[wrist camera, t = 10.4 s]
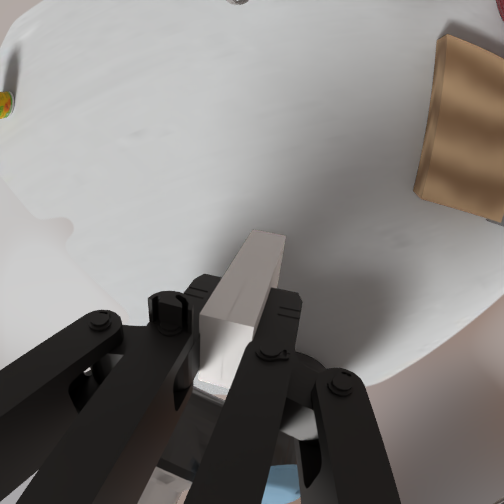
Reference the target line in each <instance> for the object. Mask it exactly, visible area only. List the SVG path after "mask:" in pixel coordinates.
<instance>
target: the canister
mask: <svg viewBox="0 0 504 504" xmlns="http://www.w3.org/2000/svg"><path fill="white" fill-rule="evenodd" d="M496 3H497V7H498V10H499V13H500V15H501V17H502V19H503V21H504V0H496Z"/></svg>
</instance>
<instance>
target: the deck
mask: <svg viewBox="0 0 504 504" xmlns="http://www.w3.org/2000/svg"><path fill="white" fill-rule="evenodd" d="M413 191H414V192H415V193H416V194H417V195H418V196H419V197H420V198H421V199H423V200H426V201H430V202H434V203H437V204H441V205H444V206H448V207H451V208H455V209H458V210H462V211H465V212H468V213H472V214H475V215H478V216H481V217H484V218H487V219H491V220H494V221H497V222H500V223H501V221H502V218H503V215H504V59H503V58H501V57H499V56H497V55H495V54H493V53H491V52H489V51H487V50H485V49H483V48H480V47H478V46H476V45H474V44H471V43H469V42H466V41H464V40H462V39H459V38H457V37H454V36H451V35H449V34H447V35H445V36H443V37H442V38H440V39H438V40H437V44H436V56H435V67H434V77H433V85H432V93H431V100H430V107H429V114H428V120H427V126H426V132H425V137H424V143H423V148H422V153H421V158H420V163H419V167H418V172H417V176H416V181H415V185H414V189H413Z"/></svg>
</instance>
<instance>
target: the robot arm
mask: <svg viewBox="0 0 504 504" xmlns="http://www.w3.org/2000/svg"><path fill="white" fill-rule="evenodd" d="M285 240H286V236H285V235H280V234H275V233H270V232H264V231H259V230H254V229H253V230H252V231H251V233H250V234H249V236H248V238H247V239H246V241H245V242H244V244H243V246H242V247H241V249H240V250H239V252H238V253H237V255H236V257H235V258H234V260H233V261H232V263H231V264H230V266H229V268H228V269H227V271H226V272H225V274H224V276H223V277H222V278H221V277H217V276H212V275H208V274H203V275H201V276H199V277H197V278H196V279H194V280H193V282H192V283H191V284H190V285H189V287H188V288H187V289H186V291H185V292H184V294H183V293H180V292H176V291H161V292H158V293H155V294H153V295H152V296H150V297H149V298H148V308H149V320H150V322H149V323H148V324H147V326H129V325H122V321H121V318H120V316H118V315H117V314H116V313H115V312H112V311H109V310H97V311H93V312H90V313H88V314H86V315H84V316H83V317H81V318H80V319H78V320H76V321H75V322H73V323H72V324H70V325H69V326H67V327H66V328H64V329H62V330H61V331H59V332H58V333H56V334H55V335H53V336H52V337H50V338H48V339H47V340H45V341H44V342H43V343H41V344H39V345H38V346H36V347H35V348H34V349H32V350H30V351H29V352H27V353H26V354H24V355H23V356H21V357H20V358H18V359H17V360H15V361H14V362H12V363H11V364H9V365H8V366H6V367H5V368H3V369H2V370H0V501H2V500H3V499H4V498H5V497H6V496H8V495H9V494H10V493H11V492H12V491H13V490H15V489H16V488H17V487H18V486H19V485H21V484H22V483H23V482H24V481H26V480H27V479H28V478H29V477H30V476H32V475H33V474H34V473H35V472H36V471H37V470H38V472H37V473H36V474H35V476H34V477H33V479H32V480H31V482H30V483H29V485H28V486H27V488H26V489H25V491H24V492H23V494H22V495H21V496H20V498H19V499H18V501H17V502H16V504H177V502H178V500H179V498H180V496H181V494H182V492H184V491H186V490H189V492H188V494H187V496H186V499H185V501H184V504H286V503H290V502H292V501H295V500H297V499H298V498H300V497H301V504H401V502H400V498H399V494H398V491H397V487H396V484H395V480H394V477H393V473H392V470H391V467H390V463H389V460H388V457H387V453H386V450H385V447H384V443H383V440H382V437H381V434H380V431H379V428H378V424H377V421H376V418H375V415H374V412H373V409H372V406H371V404H370V400H369V397H368V394H367V392H366V388H365V386H364V384H363V382H362V380H361V379H360V378H359V377H358V376H357V375H356V374H355V373H353V372H351V371H349V370H346V369H342V368H330V369H325V368H324V367H323V366H322V365H321V364H320V363H319V362H318V361H316V360H315V359H313V358H311V357H309V356H306V355H304V354H301V353H297V352H295V342H296V337H297V331H298V325H299V319H300V314H301V308H302V300H301V298H300V296H299V294H298V293H296V292H291V291H286V290H281V289H277V285H278V280H279V274H280V269H281V263H282V257H283V251H284V246H285ZM89 367H90V368H91V370H89V371H88V372H86V373H84V371H85V370H86V369H88V368H89ZM197 372H198V380H199V381H203V382H206V383H210V384H214V385H217V386H221V387H225V388H228V389H230V390H229V392H228V395H227V397H226V400H223V399H220V398H218V397H216V396H214V395H212V394H209V393H207V392H205V391H203V390H201V389H199V388H197V387H195V386H193V380H194V378H195V376H196V374H197Z"/></svg>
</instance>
